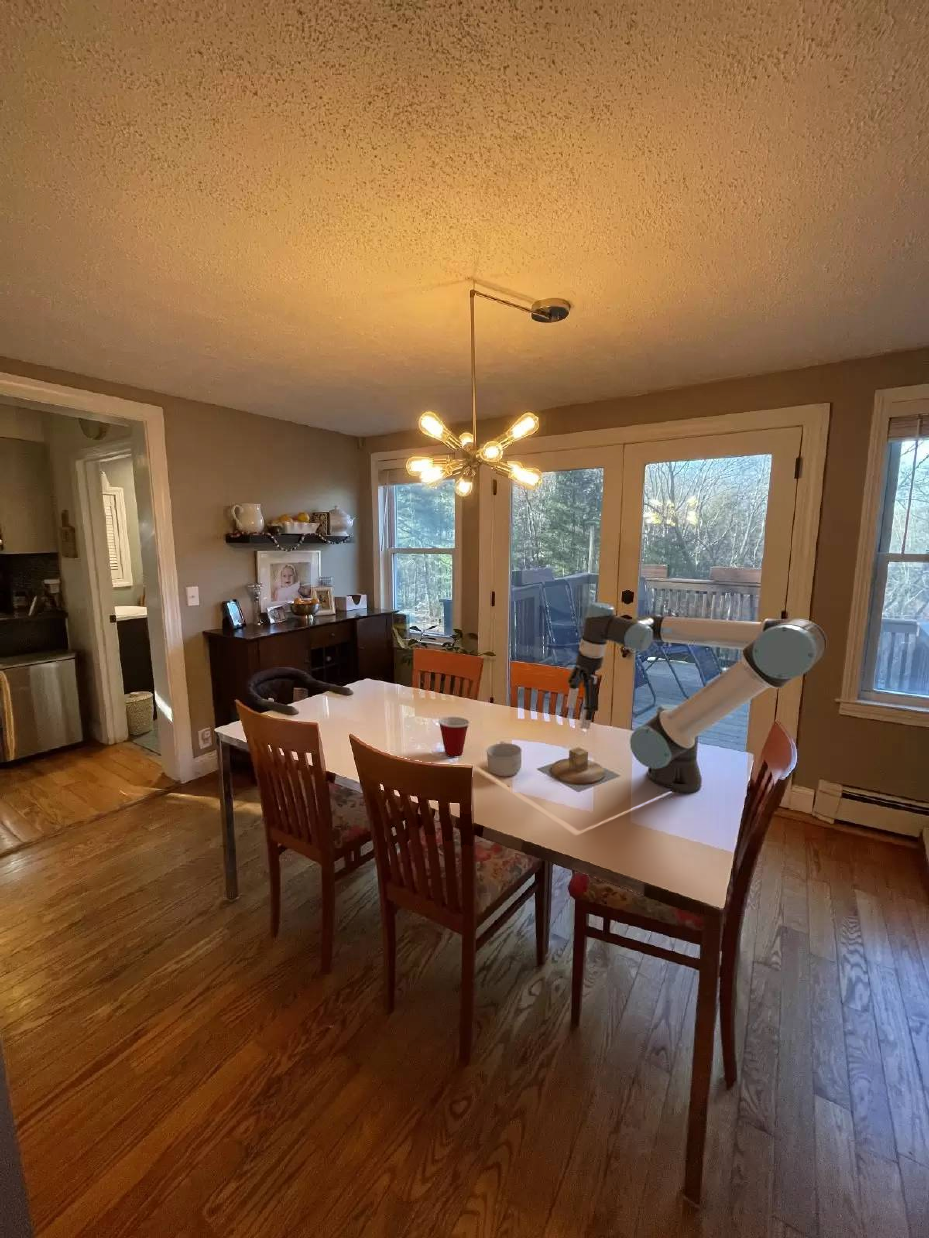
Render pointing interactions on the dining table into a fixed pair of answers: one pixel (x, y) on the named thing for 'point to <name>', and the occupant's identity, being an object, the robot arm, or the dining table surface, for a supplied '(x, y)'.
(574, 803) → the dining table surface
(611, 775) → the mat
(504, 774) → the teacup
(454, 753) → the plastic cup
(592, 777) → the lid
